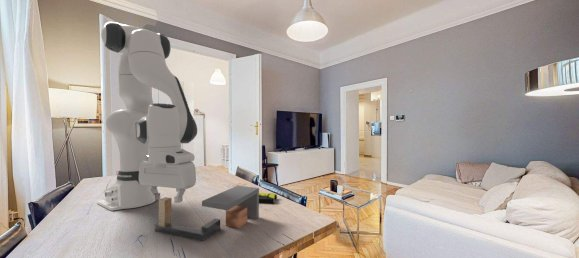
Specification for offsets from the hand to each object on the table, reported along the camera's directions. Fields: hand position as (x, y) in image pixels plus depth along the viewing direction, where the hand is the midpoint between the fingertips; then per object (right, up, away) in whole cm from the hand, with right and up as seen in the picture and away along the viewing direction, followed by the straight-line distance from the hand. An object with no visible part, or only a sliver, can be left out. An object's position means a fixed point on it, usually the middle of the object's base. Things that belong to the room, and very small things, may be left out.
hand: (167, 200), depth 65 cm
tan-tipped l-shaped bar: (+6, -9, +1) cm, 11 cm away
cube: (+20, -10, +6) cm, 23 cm away
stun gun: (+22, -10, +25) cm, 35 cm away
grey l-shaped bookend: (+19, -10, +4) cm, 22 cm away
